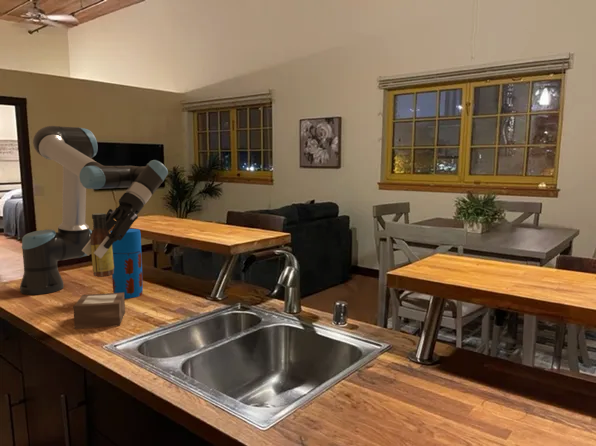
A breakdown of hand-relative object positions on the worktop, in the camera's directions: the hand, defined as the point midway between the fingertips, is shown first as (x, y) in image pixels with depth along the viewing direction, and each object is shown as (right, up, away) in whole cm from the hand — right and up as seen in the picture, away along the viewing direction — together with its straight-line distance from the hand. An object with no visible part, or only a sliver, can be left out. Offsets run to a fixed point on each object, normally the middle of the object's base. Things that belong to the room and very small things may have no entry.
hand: (91, 254), depth 142 cm
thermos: (-1, -18, +34) cm, 38 cm away
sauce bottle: (+2, -7, +4) cm, 8 cm away
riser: (+1, -22, +5) cm, 22 cm away
